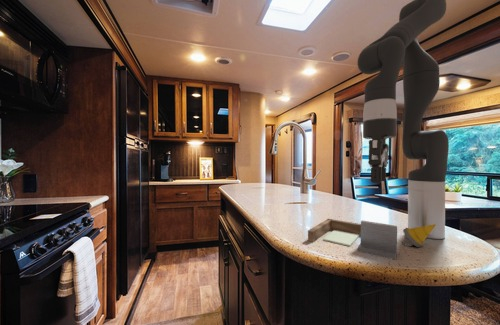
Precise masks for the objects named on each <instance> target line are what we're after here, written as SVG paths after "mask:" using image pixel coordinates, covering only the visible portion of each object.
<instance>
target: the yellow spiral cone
mask: <svg viewBox="0 0 500 325" xmlns="http://www.w3.org/2000/svg"><path fill="white" fill-rule="evenodd" d="M435 226H436V224H434V225H428V226H422V227H416V228H410V229H409V228H408V227H406V228H404V229H402V230H403V231H402V232H403V234H404V237H403V238H404V239H403V241H402V244H403V243H404V244H403V245H405V244H406V245H405V246H407V245H408V246H407V247H409V246H410V247H412V246H413V245H414V246H415V247H417V248H420V247H423V243H424V241H425V240H426V239H428V238H427V235H429V234H430V232H431V231H432V230H433V228H434V227H435Z"/></svg>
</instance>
